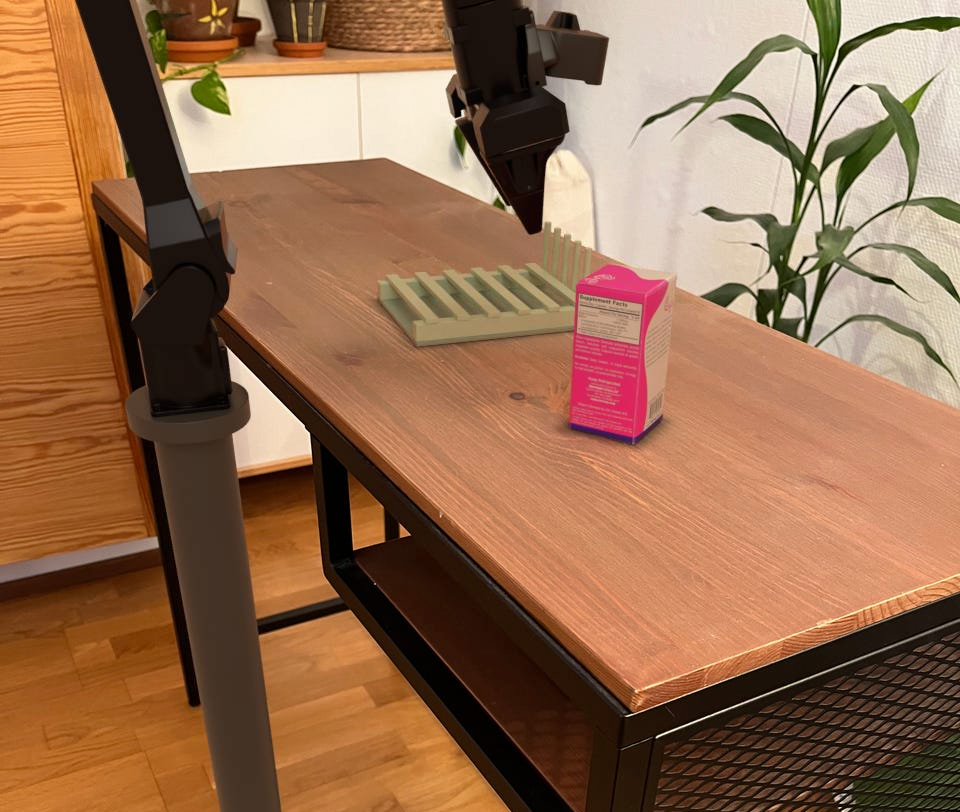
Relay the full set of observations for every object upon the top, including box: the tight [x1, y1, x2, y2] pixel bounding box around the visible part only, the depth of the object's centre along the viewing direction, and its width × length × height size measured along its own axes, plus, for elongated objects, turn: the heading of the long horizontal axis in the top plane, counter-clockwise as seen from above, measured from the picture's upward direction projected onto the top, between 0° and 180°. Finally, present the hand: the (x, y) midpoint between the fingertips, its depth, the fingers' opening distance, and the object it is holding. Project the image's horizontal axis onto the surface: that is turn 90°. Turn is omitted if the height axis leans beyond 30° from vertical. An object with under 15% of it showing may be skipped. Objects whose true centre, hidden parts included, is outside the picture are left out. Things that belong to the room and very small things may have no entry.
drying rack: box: [377, 220, 593, 348], centre depth 100 cm, size 18×14×7 cm
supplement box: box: [568, 263, 678, 446], centre depth 78 cm, size 6×6×12 cm
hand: (523, 218), depth 84 cm, fingers open, 9 cm apart
